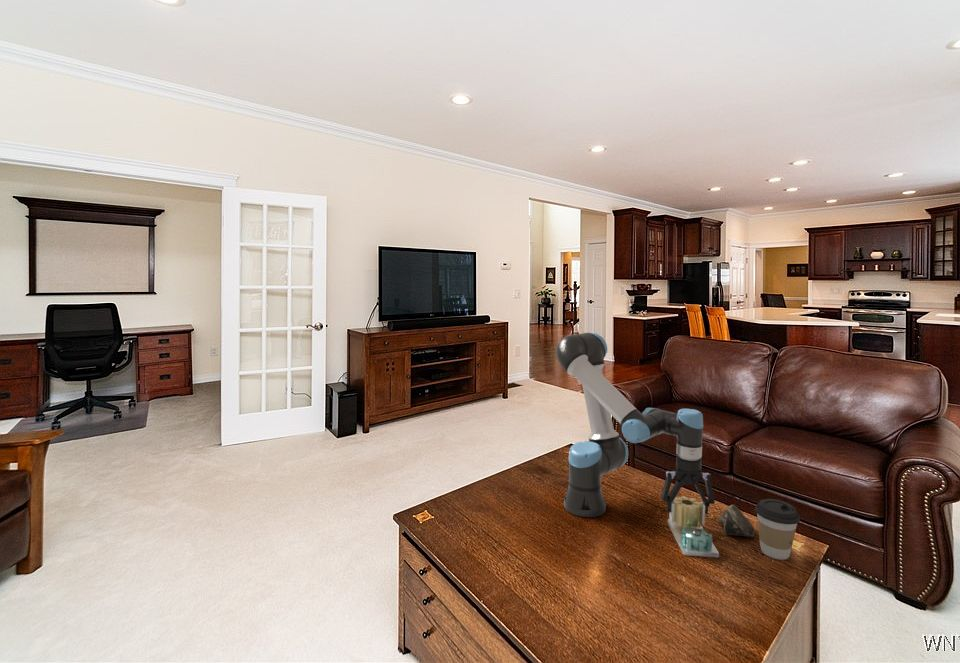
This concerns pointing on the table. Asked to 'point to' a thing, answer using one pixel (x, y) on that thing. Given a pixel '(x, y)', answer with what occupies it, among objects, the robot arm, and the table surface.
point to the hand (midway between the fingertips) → (686, 521)
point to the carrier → (693, 541)
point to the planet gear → (687, 512)
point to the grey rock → (736, 523)
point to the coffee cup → (776, 527)
